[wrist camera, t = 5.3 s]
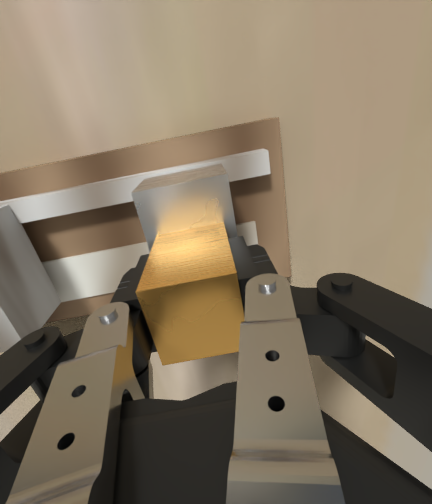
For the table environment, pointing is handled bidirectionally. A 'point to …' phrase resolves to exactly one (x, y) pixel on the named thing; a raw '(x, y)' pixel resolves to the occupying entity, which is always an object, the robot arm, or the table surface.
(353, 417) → the table surface
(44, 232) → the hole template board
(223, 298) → the block
